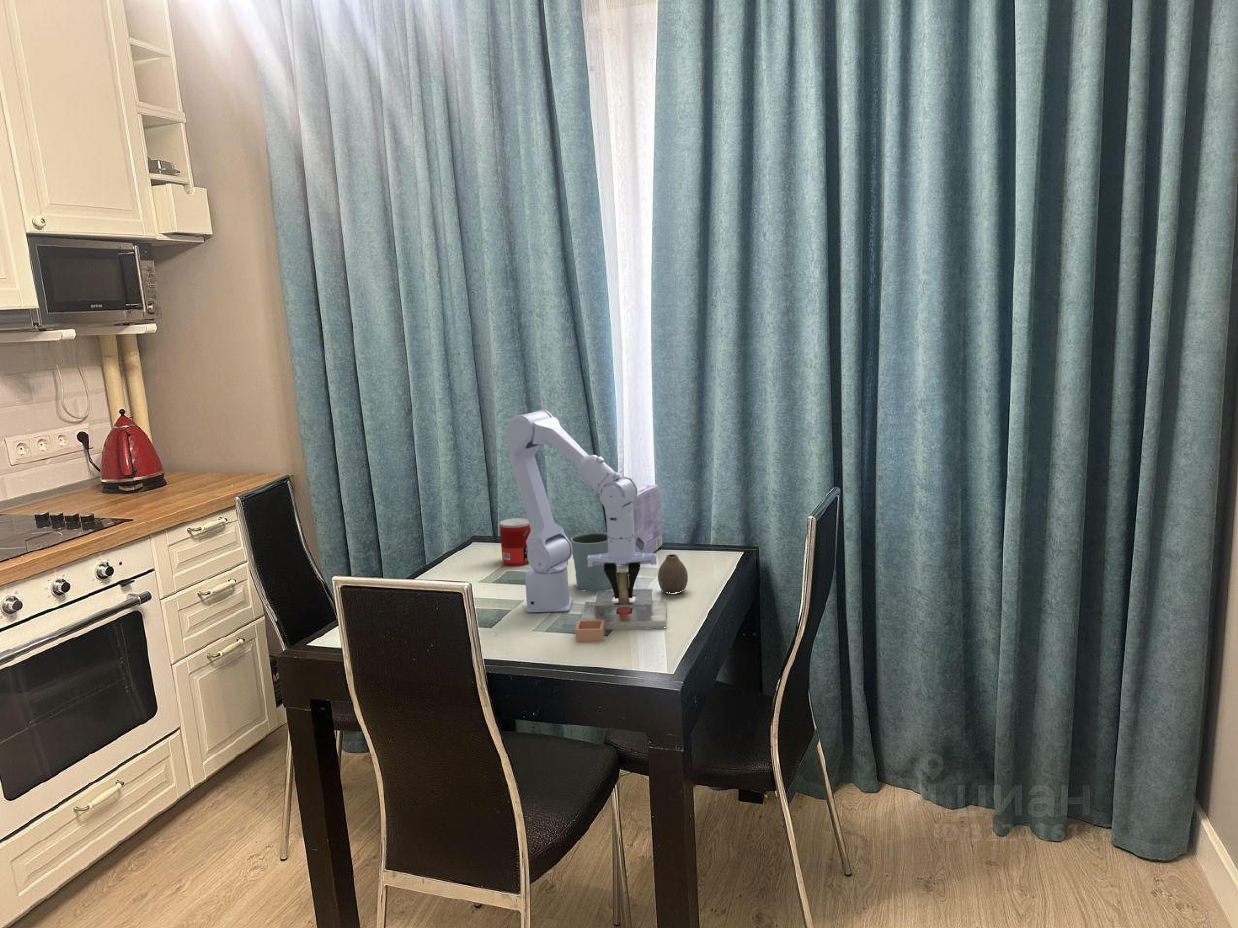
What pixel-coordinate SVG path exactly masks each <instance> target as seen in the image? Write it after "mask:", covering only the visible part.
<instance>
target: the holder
mask: <svg viewBox="0 0 1238 928" xmlns="http://www.w3.org/2000/svg"><path fill="white" fill-rule="evenodd" d="M605 634H606V630H605V620H581V619H577V622H576V625H575V629H574V637H575V643H580V642H581V643H584V642H587V643H588V642H604V641H605V640H604V639H605Z"/></svg>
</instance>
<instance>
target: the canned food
mask: <svg viewBox="0 0 1238 928" xmlns="http://www.w3.org/2000/svg"><path fill="white" fill-rule="evenodd" d="M530 532H531V528H530V525H529V521H528V518H522V517H521V518H519V517H516V518H515V517H514V518H506V519H504V520H501V521H500V522H499V534H500V546H501V547H500V548H501V559H502V563H503V564H504V565H505V566H510V567H520V566H525V565H530V564H529V562H528V558H527V554H528V547H527V544H526V541H527V538H528V536H529V534H530Z"/></svg>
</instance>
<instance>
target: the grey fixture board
mask: <svg viewBox="0 0 1238 928" xmlns="http://www.w3.org/2000/svg"><path fill="white" fill-rule="evenodd" d="M614 598H615V596H614V592H613V589H606V590H598V591H597V593H596V598H595V601H585V603H584V606H583V609H582V612H581V613H582V614H581V617H580V620H605V631H607V630H608V631H611V630H612V631H613V630H647V629H646V628H660V629H665V628H664V627H666V628H667V620H666V617H667V616H668V615H667V613H668V612H667V611H668V610H667V608H668V606H667V599H653V588H636V589H635V588H633V596H632V598H635V600H630V602H629V603H618V600H614V601H613V599H614ZM618 607H631V614H618Z"/></svg>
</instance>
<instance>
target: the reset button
mask: <svg viewBox="0 0 1238 928" xmlns="http://www.w3.org/2000/svg"><path fill="white" fill-rule="evenodd" d="M618 614H631V607H628V608H620V607H618Z"/></svg>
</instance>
